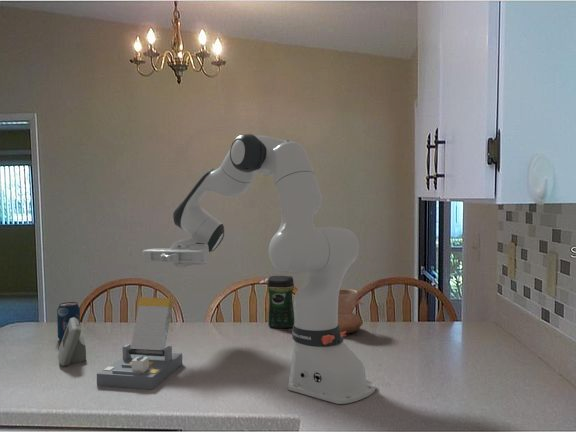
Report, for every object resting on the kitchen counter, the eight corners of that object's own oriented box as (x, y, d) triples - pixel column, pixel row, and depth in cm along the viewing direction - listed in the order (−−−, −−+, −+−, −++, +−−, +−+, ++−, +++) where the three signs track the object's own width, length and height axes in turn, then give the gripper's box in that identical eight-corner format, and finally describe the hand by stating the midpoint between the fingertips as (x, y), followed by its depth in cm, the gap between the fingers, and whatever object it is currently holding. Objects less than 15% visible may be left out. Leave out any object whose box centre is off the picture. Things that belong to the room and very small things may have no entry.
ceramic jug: (367, 327, 167) (366, 288, 167) (361, 338, 154) (360, 295, 154) (319, 325, 173) (318, 286, 173) (308, 335, 159) (307, 293, 159)
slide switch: (137, 368, 120) (137, 354, 120) (148, 368, 119) (148, 355, 119) (132, 372, 117) (131, 358, 117) (143, 373, 116) (142, 359, 116)
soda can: (65, 343, 152) (65, 307, 152) (53, 340, 156) (52, 304, 155) (84, 338, 158) (84, 302, 158) (72, 335, 162) (71, 300, 161)
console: (133, 361, 134) (133, 338, 134) (182, 363, 132) (181, 341, 131) (96, 385, 117) (96, 359, 116) (152, 389, 114) (152, 363, 114)
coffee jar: (296, 324, 173) (296, 274, 173) (291, 329, 166) (290, 277, 165) (271, 322, 176) (271, 273, 175) (265, 328, 168) (264, 277, 168)
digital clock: (60, 351, 144) (59, 317, 144) (91, 348, 147) (90, 315, 146) (48, 369, 129) (47, 331, 128) (83, 366, 131) (82, 328, 131)
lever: (132, 355, 129) (142, 299, 135) (165, 356, 127) (175, 300, 133) (127, 353, 126) (138, 297, 132) (161, 355, 124) (171, 298, 131)
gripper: (153, 243, 153) (132, 247, 139) (212, 243, 149) (196, 248, 136) (153, 262, 153) (132, 268, 140) (213, 263, 149) (196, 269, 136)
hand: (164, 258), depth 138 cm, fingers closed
